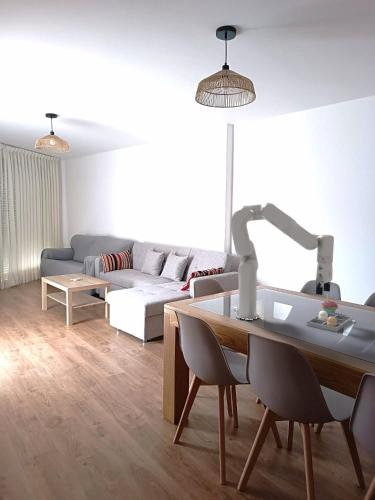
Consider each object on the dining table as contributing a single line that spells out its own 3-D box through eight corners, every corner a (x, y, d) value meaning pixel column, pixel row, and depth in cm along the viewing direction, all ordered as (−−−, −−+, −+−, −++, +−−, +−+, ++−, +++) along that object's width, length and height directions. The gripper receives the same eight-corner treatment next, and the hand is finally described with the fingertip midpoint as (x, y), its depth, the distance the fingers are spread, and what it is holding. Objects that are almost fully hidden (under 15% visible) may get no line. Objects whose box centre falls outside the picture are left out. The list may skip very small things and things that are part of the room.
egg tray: (306, 326, 182) (306, 321, 182) (323, 316, 198) (323, 311, 198) (336, 333, 172) (336, 327, 172) (352, 321, 189) (352, 317, 188)
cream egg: (316, 321, 188) (317, 310, 187) (320, 319, 191) (320, 309, 190) (325, 323, 185) (325, 312, 184) (328, 321, 188) (329, 310, 187)
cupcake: (327, 316, 198) (328, 294, 197) (318, 312, 206) (318, 291, 205) (341, 315, 200) (342, 293, 199) (331, 311, 209) (331, 290, 207)
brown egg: (325, 328, 177) (325, 316, 177) (328, 326, 181) (328, 314, 180) (334, 330, 175) (335, 318, 174) (337, 328, 178) (338, 316, 177)
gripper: (325, 262, 175) (323, 297, 177) (338, 258, 188) (336, 291, 190) (310, 260, 180) (308, 294, 182) (324, 257, 193) (322, 288, 195)
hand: (322, 292), depth 186 cm, fingers open, 9 cm apart
